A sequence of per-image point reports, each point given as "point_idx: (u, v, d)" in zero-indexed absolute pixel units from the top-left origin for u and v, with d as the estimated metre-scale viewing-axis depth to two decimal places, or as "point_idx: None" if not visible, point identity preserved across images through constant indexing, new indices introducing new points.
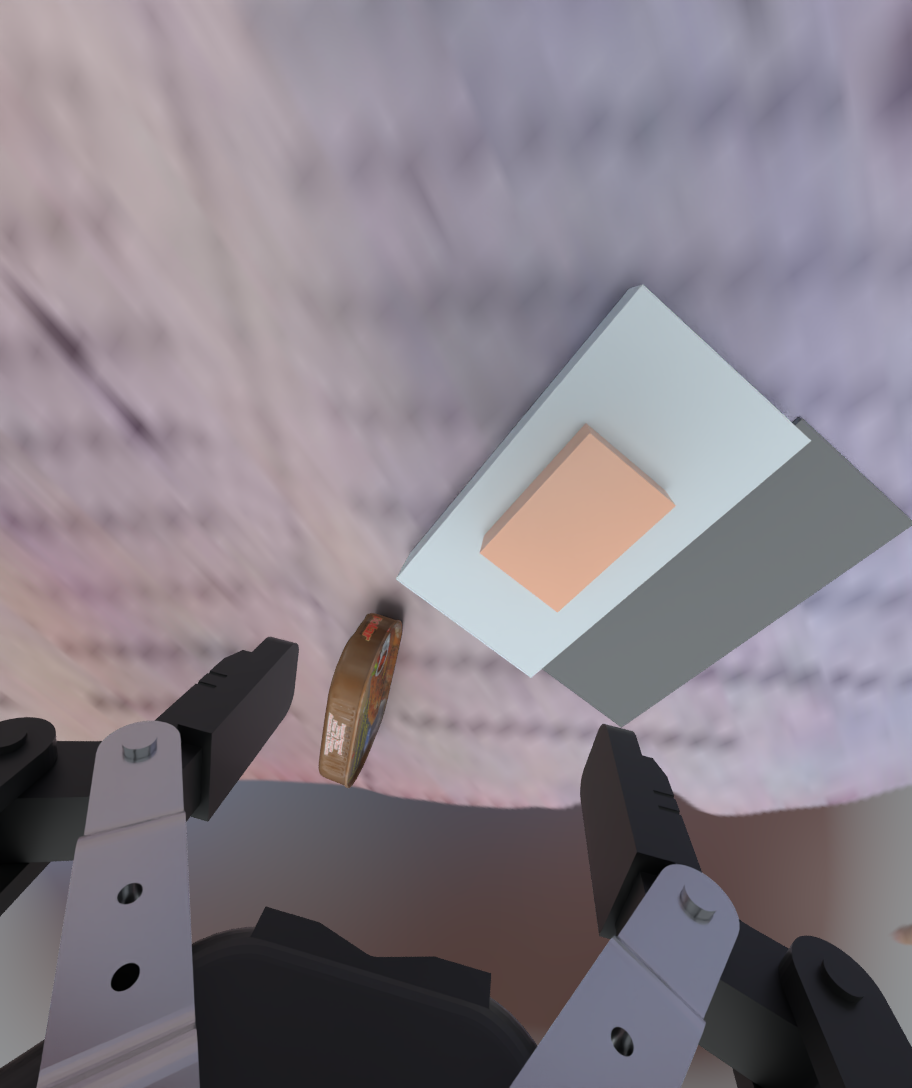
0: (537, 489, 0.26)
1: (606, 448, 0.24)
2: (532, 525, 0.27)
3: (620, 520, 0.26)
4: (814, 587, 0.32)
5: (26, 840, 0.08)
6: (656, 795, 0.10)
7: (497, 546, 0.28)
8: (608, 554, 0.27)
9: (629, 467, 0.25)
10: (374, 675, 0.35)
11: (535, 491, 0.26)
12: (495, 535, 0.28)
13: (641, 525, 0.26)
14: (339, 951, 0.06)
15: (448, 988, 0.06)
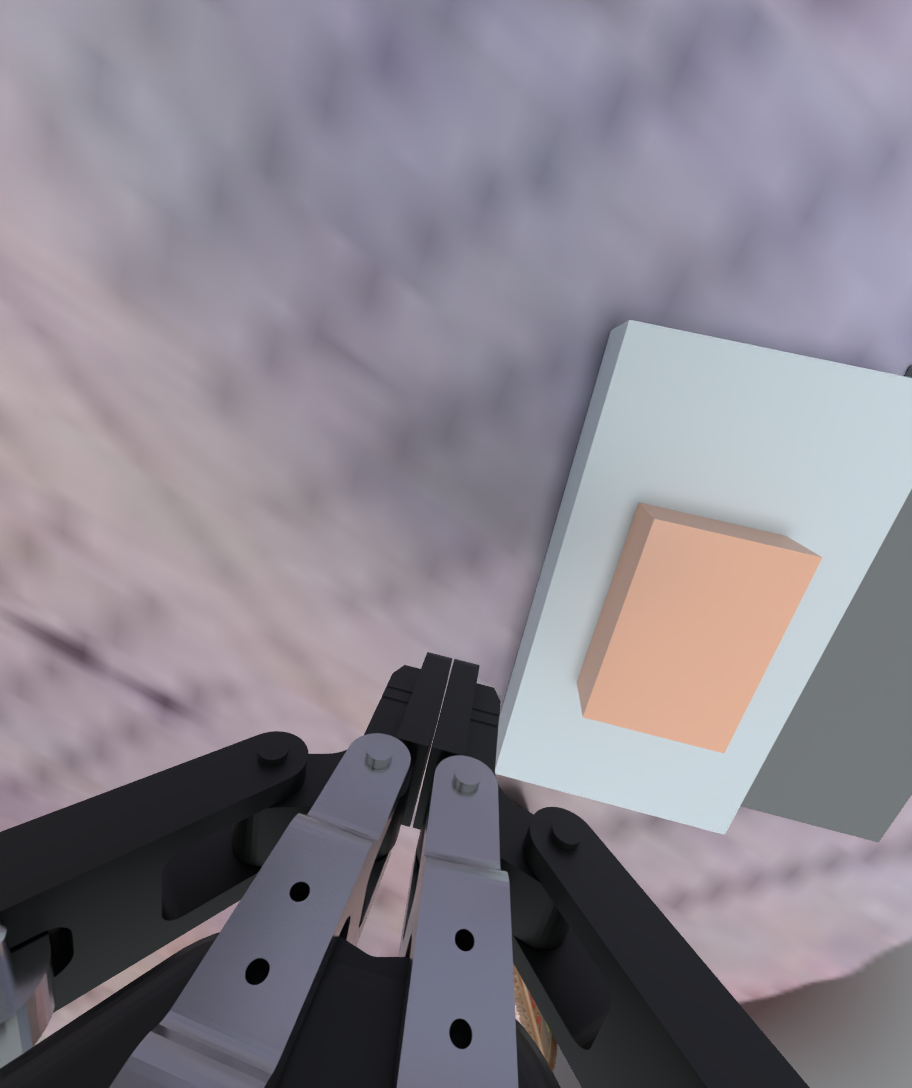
0: (619, 612, 0.19)
1: (686, 527, 0.17)
2: (634, 657, 0.19)
3: (752, 606, 0.18)
4: None
5: None
6: (482, 714, 0.12)
7: (601, 700, 0.20)
8: (757, 654, 0.19)
9: (729, 537, 0.17)
10: None
11: (618, 615, 0.19)
12: (592, 687, 0.20)
13: (785, 601, 0.18)
14: (339, 951, 0.06)
15: None
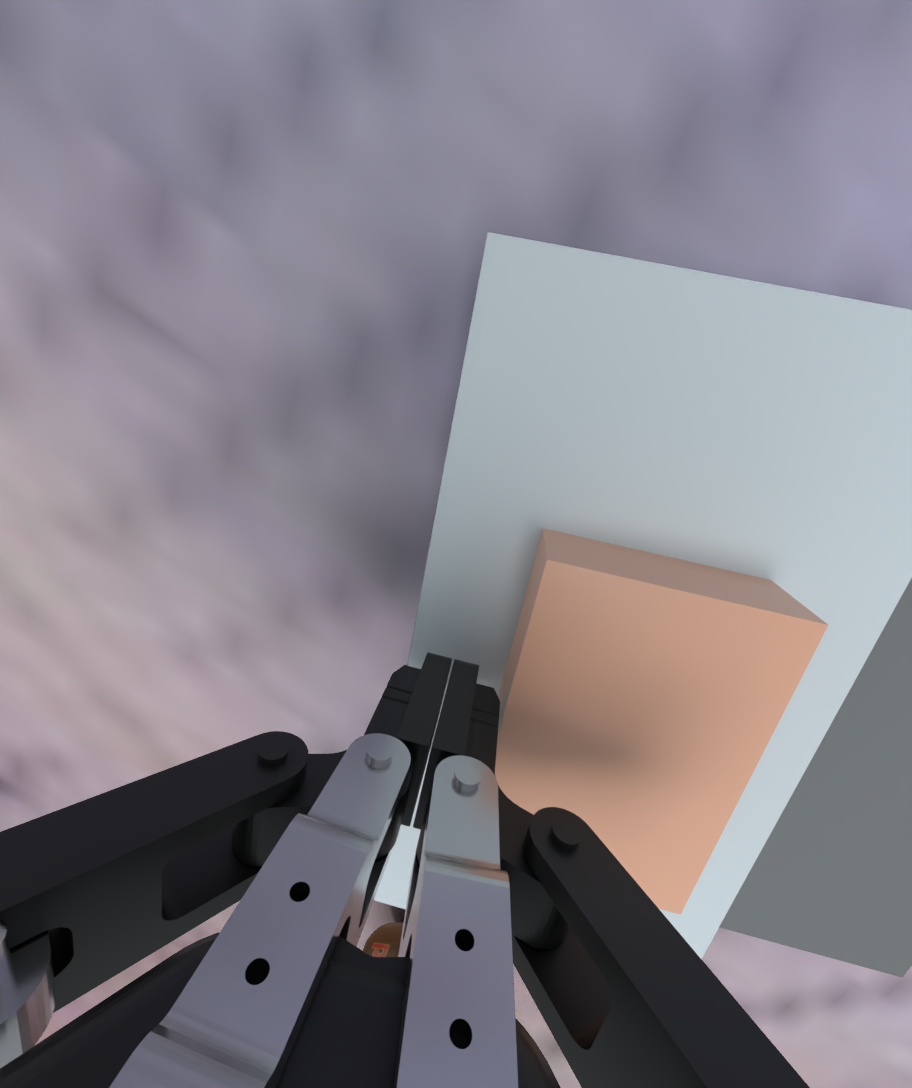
0: (506, 703, 0.12)
1: (599, 574, 0.10)
2: (534, 773, 0.12)
3: (714, 700, 0.11)
4: None
5: None
6: (482, 714, 0.12)
7: None
8: (726, 774, 0.12)
9: (672, 590, 0.10)
10: None
11: (504, 708, 0.12)
12: None
13: (768, 693, 0.11)
14: (339, 951, 0.06)
15: None
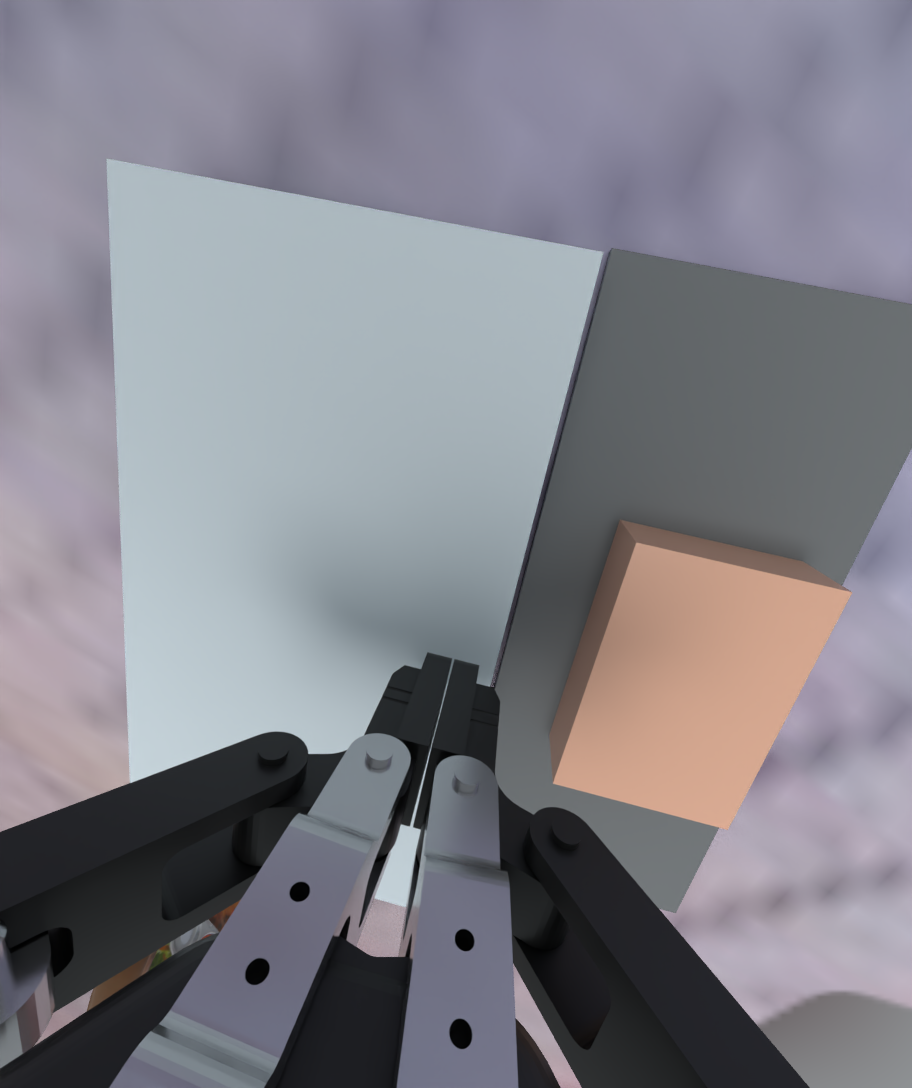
0: None
1: (765, 555, 0.16)
2: None
3: None
4: (855, 532, 0.15)
5: None
6: (482, 714, 0.12)
7: None
8: None
9: (717, 543, 0.16)
10: None
11: None
12: None
13: None
14: (339, 951, 0.06)
15: None
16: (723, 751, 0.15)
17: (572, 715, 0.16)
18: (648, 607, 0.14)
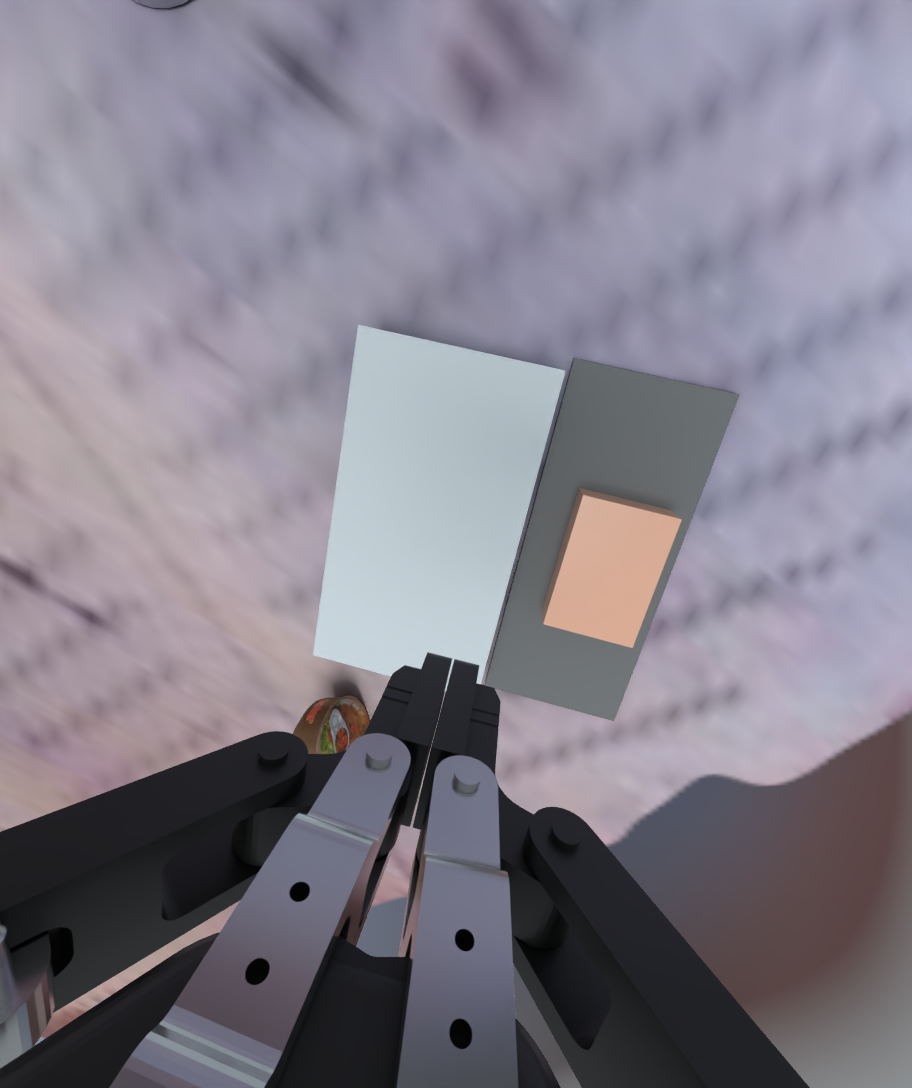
0: None
1: (652, 506, 0.31)
2: None
3: None
4: (694, 495, 0.31)
5: None
6: (482, 714, 0.12)
7: None
8: None
9: (628, 500, 0.32)
10: None
11: None
12: None
13: None
14: (339, 951, 0.06)
15: None
16: (628, 603, 0.31)
17: (553, 587, 0.32)
18: (589, 527, 0.30)
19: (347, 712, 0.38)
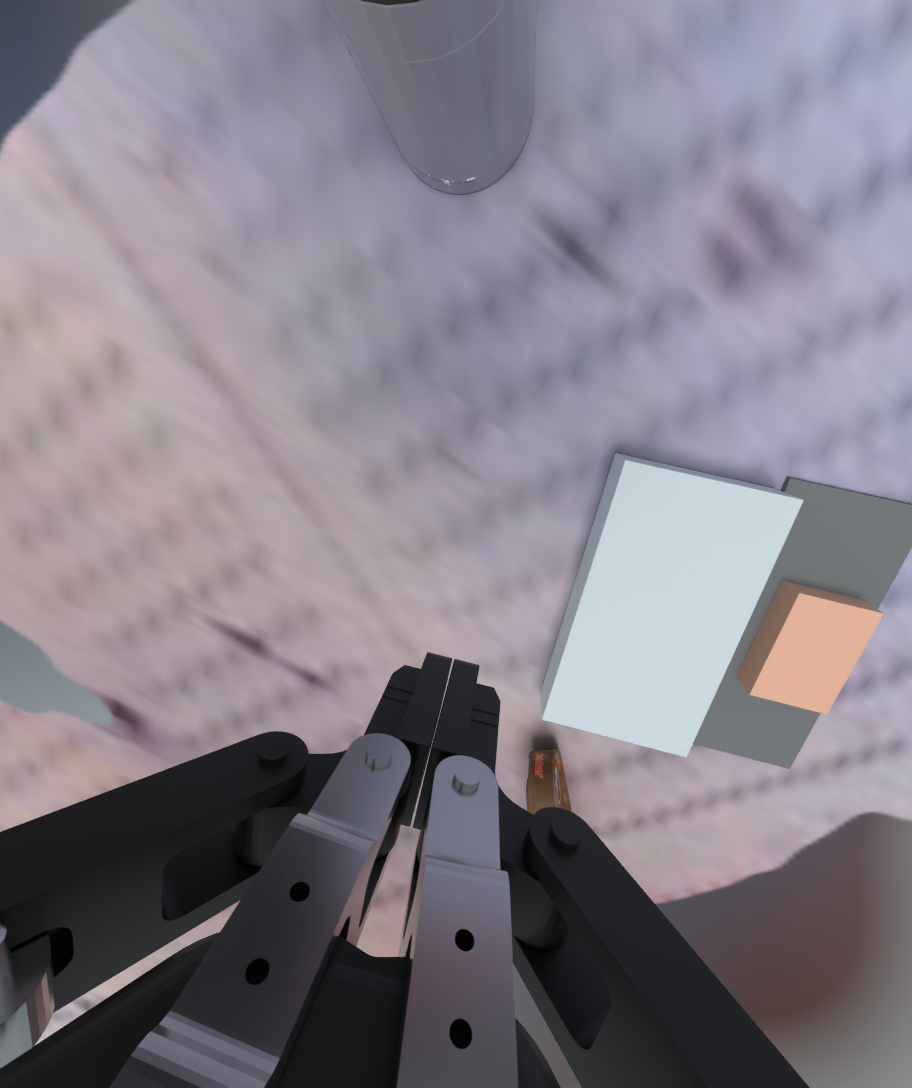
0: None
1: (845, 596, 0.37)
2: None
3: None
4: (883, 588, 0.37)
5: None
6: (482, 714, 0.12)
7: None
8: None
9: (824, 591, 0.37)
10: (558, 804, 0.41)
11: None
12: None
13: None
14: (339, 951, 0.06)
15: None
16: (827, 678, 0.37)
17: (760, 664, 0.38)
18: (801, 618, 0.36)
19: (554, 763, 0.44)
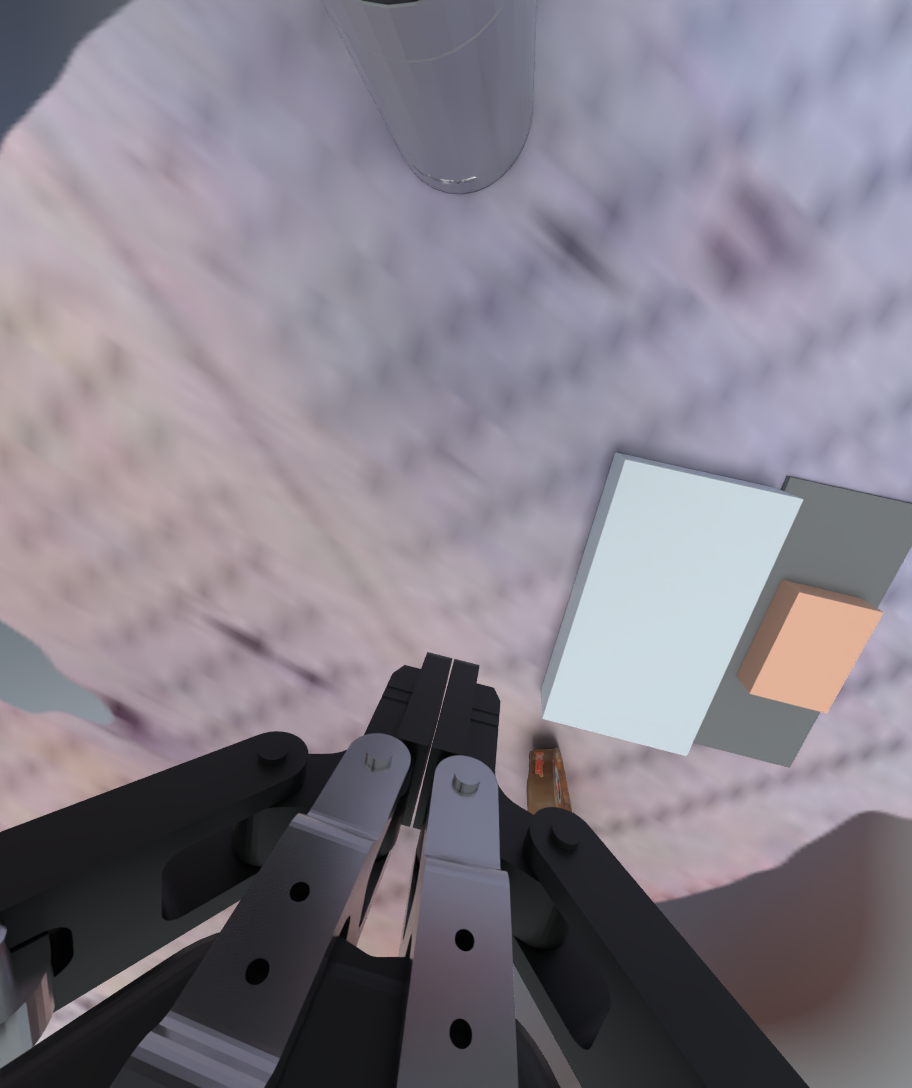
0: None
1: (845, 595, 0.37)
2: None
3: None
4: (883, 586, 0.37)
5: None
6: (482, 714, 0.12)
7: None
8: None
9: (824, 590, 0.37)
10: (558, 803, 0.41)
11: None
12: None
13: None
14: (339, 951, 0.06)
15: None
16: (827, 677, 0.37)
17: (760, 663, 0.38)
18: (801, 617, 0.36)
19: (555, 762, 0.44)
